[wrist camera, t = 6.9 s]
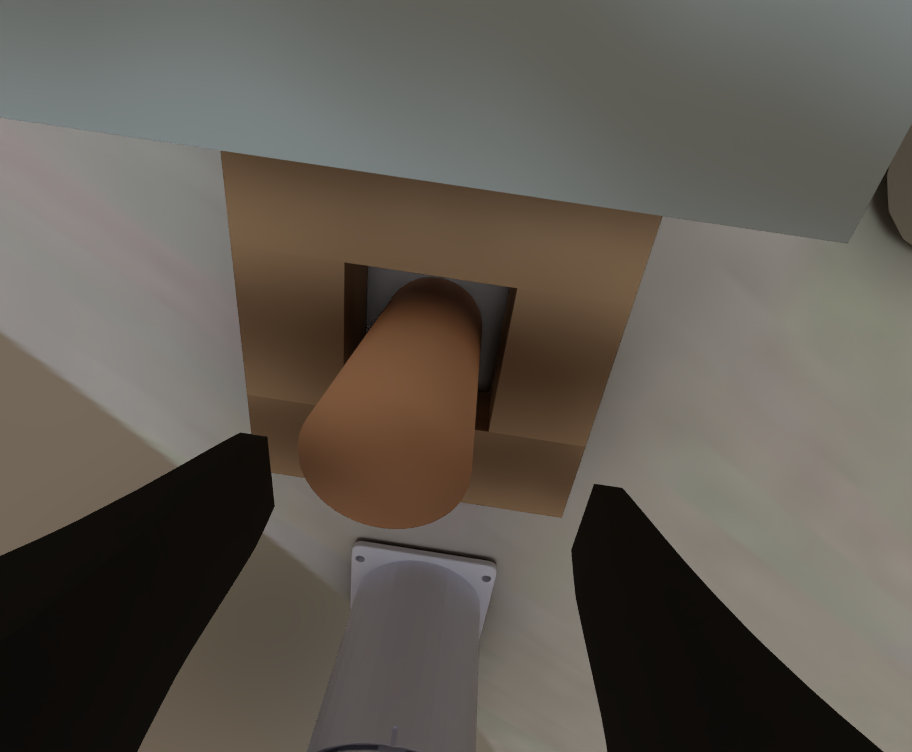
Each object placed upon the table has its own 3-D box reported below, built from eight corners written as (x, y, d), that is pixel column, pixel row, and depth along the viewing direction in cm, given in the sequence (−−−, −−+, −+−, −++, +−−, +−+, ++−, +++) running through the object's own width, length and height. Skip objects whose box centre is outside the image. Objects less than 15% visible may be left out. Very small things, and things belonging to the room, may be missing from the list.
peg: (469, 378, 19) (451, 543, 11) (379, 357, 19) (294, 509, 11) (492, 290, 17) (491, 412, 9) (392, 266, 17) (301, 369, 9)
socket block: (553, 471, 21) (596, 708, 12) (285, 429, 21) (131, 633, 12) (676, 60, 13) (1048, -132, 4) (258, -1, 13) (-210, -307, 4)
